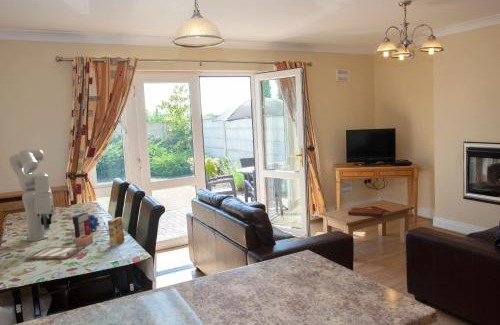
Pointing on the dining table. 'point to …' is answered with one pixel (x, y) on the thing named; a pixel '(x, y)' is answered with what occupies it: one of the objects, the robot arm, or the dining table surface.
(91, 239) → the pen cup
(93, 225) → the grapes
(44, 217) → the marker
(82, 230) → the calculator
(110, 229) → the candy box
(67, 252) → the clipboard
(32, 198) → the robot arm
